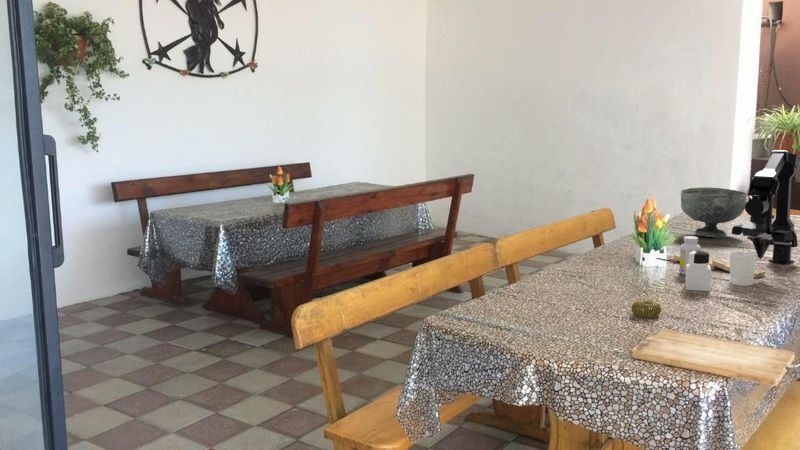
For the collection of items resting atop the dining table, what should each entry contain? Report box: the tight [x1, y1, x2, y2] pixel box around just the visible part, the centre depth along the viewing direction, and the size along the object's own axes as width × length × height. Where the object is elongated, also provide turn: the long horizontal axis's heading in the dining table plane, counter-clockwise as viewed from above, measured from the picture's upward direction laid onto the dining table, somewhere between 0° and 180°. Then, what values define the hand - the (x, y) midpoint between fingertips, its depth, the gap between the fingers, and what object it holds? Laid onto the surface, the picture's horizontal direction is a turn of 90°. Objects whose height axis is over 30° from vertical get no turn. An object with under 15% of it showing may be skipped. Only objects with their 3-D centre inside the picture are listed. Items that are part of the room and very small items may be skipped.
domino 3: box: [709, 257, 720, 270], centre depth 268 cm, size 5×2×9 cm
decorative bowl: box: [680, 186, 748, 239], centre depth 323 cm, size 26×26×20 cm
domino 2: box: [673, 253, 680, 261], centre depth 274 cm, size 5×2×9 cm
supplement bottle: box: [679, 235, 702, 276], centre depth 257 cm, size 7×7×13 cm
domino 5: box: [754, 267, 766, 279], centre depth 254 cm, size 5×2×9 cm
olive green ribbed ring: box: [631, 299, 662, 319], centre depth 210 cm, size 8×4×8 cm
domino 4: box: [712, 258, 730, 273], centre depth 261 cm, size 5×2×9 cm
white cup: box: [729, 251, 758, 287], centre depth 242 cm, size 8×8×10 cm
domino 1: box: [668, 258, 680, 263], centre depth 281 cm, size 5×2×9 cm
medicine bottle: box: [685, 250, 712, 292], centre depth 237 cm, size 7×7×12 cm
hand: (760, 257), depth 250 cm, fingers closed
